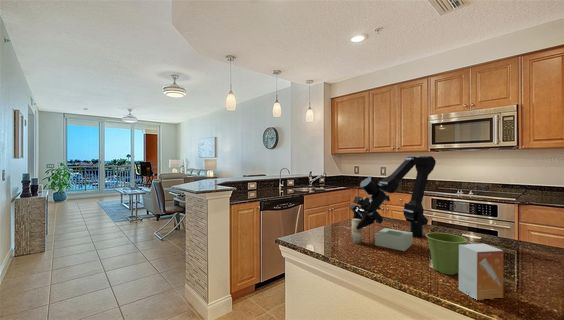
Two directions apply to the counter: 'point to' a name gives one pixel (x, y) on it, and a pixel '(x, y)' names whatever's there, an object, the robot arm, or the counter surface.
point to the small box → (481, 271)
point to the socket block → (394, 239)
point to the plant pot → (445, 251)
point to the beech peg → (356, 232)
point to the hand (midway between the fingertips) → (354, 227)
